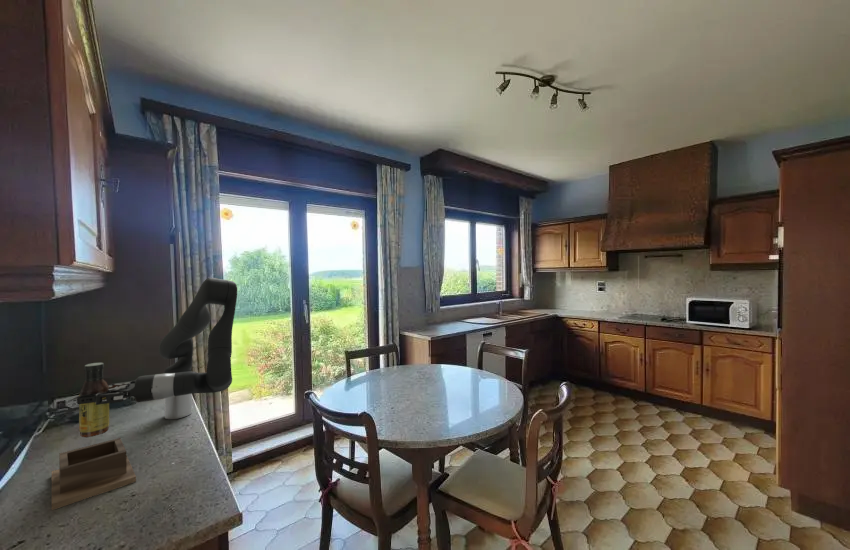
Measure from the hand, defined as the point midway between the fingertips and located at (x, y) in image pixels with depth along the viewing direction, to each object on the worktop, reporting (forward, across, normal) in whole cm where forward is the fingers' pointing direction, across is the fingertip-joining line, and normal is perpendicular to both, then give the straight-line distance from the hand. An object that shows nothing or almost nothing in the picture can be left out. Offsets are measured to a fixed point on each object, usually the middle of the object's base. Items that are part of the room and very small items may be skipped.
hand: (82, 396), depth 97 cm
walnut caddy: (-2, 0, +24) cm, 24 cm away
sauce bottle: (-2, 0, +11) cm, 11 cm away
